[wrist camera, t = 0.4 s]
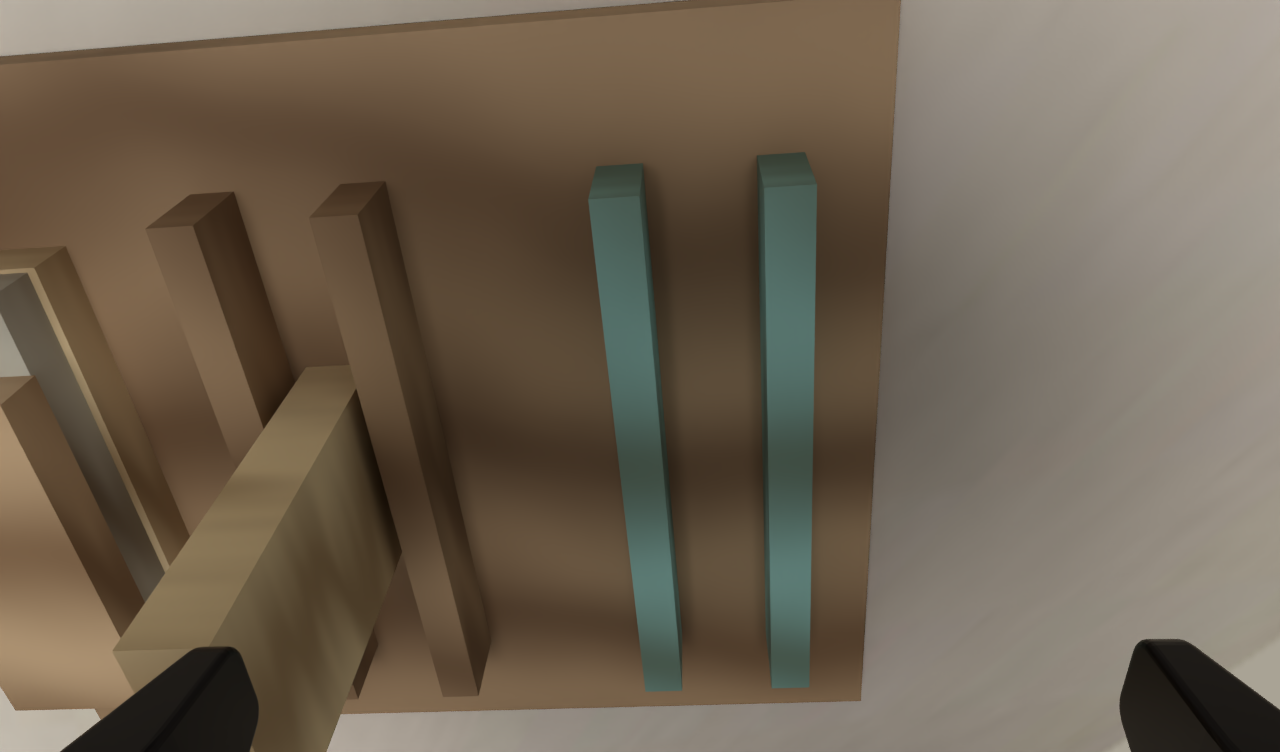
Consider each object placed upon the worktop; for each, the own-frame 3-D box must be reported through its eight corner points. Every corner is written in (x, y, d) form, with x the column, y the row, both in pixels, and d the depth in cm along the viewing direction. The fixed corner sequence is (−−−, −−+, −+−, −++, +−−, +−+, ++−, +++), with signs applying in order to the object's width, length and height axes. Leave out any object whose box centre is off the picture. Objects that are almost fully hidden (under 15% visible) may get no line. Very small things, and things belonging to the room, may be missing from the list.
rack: (855, 674, 29) (872, 758, 26) (117, 694, 31) (65, 775, 28) (891, -17, 19) (925, 10, 16) (-219, 74, 20) (-350, 111, 18)
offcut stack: (228, 624, 27) (170, 727, 24) (98, 629, 28) (25, 731, 24) (65, 245, 21) (-40, 318, 18) (-99, 256, 21) (-230, 330, 18)
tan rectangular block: (412, 523, 25) (293, 837, 17) (355, 526, 25) (210, 838, 17) (369, 364, 22) (207, 648, 15) (306, 366, 23) (111, 651, 15)
